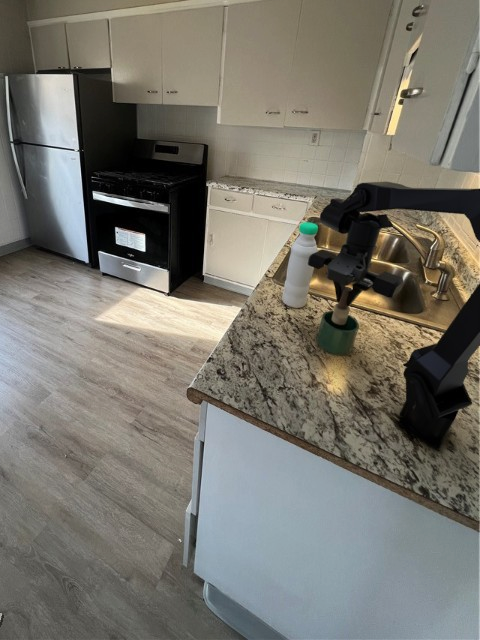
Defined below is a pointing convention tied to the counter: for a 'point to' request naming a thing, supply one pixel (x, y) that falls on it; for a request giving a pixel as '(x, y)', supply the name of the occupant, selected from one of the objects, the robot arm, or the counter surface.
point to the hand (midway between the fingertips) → (343, 303)
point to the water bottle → (300, 267)
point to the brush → (342, 307)
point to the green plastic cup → (337, 334)
